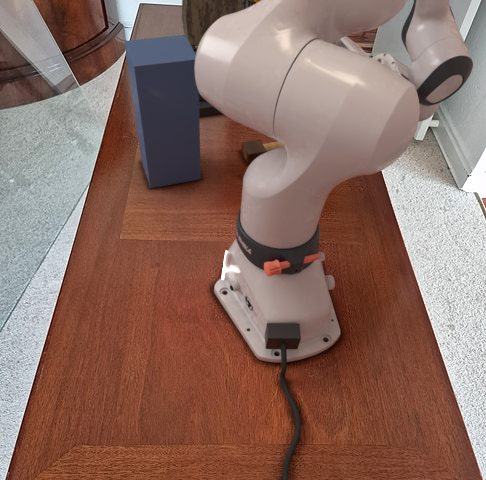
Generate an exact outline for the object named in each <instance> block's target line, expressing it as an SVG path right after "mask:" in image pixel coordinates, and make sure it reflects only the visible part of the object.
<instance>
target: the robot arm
mask: <svg viewBox="0 0 486 480" xmlns="http://www.w3.org/2000/svg"><path fill="white" fill-rule="evenodd" d="M407 3H408V0H261V1H259V2H258V3H256V4H254V5H252V6H250V7H248V8H246V9H244V10H241V11H238V12H236V13H232V14H228V15H225V16H222V17H221V18H219V19H218V20H217V21H215V22H214V23H213V24H212V25H211V26H210V27H209V28H208V30H207V31H206V32H205V34H204V35H203V37H202V39H201V41H200V43H199V46H197V49H196V52H195V54H196V57H195V65H194V72H195V80H196V85H197V88H198V91H199V93H200V95H201V96H202V97H203V98H204V99H205V100H206V101H207V102H208V103H210V104H211V105H212V106H213V107H215V108H216V109H217V110H219V111H220V112H221V113H223V114H222V115H224V116H225V117H227V118H228V119H230V120H231V121H233V122H235V123H237V124H239V125H242V126H243V127H247V128H248V129H251V130H253V131H255V132H257V133H260V134H262V135H264V136H266V137H269V138H271V139H272V140H275V141H276V142H279V143H281V144H282V145H284V147H283V148H278V149H274V150H271V151H268V152H266V153H263V154H261V155H260V156H258V157H257V158H256V159H254V160H253V161H252V163H249V164H248V166H247V168H246V170H245V172H244V174H243V178H242V189H241V201H240V208H239V209H238V212H237V215H236V216H237V217H236V219H235V220H236V221H235V239H234V240H233V242H232V243H231V245H230V247H229V248H228V250H225V252H224V258H223V264H222V265H223V267H222V272H221V277H220V278H219V279H218V280H217V281H216V282H215V284H214V286H213V293H214V295H215V296H216V298H217V300H218V301H219V302H220V304H221V305H222V307H223V309H224V310H225V311H226V313H227V315H228V316H229V318H230V320H231V321H232V322H233V324H234V326H235V327H236V329H237V330H238V331H239V333H240V334H241V336H242V338H243V339H244V341H245V342H246V344H247V346H248V347H249V348H250V350H251V352H252V353H253V355H254V357H256V358H257V359H258V360H260V361H262V362H267V363H273V364H274V363H280V364H281V365H280V366H281V368H280V372H279V381H280V384H281V388H282V391H283V392H284V395H285V397H286V399H287V401H288V404H289V406H290V408H291V410H292V414H293V417H294V425H295V430H294V434H293V437H292V440H291V442H290V445H289V447H288V449H287V452H286V453H285V455H284V456H285V457H284V459H283V464H282V470H281V478H282V479H281V480H289V467H290V462H291V459H292V457H293V454H294V452H295V450H296V448H297V446H298V443H299V440H300V436H301V432H302V431H301V430H302V421H301V420H302V419H301V416H300V411H299V409H298V407H297V404H296V401H295V400H294V398H293V396H292V393H291V392H290V389H289V387H288V383H287V379H286V373H287V371H288V369H287V368H288V363H289V362H297V361H300V360H305V359H307V358H310V357H313V356H316V355H318V354H320V353H322V352H325V351H326V350H328V349H330V348H331V347H333V345H334V344H335V343H336V342H337V341H338V340H339V339H340V337H341V328H340V325H339V321H338V318H337V314H336V311H335V308H334V304H333V301H332V298H331V295H330V291H331V290H334V289H335V286H336V281H335V277H334V275H332V274H327V275H325V270H324V266H323V261H325V259H326V257H325V256H326V255H325V252H324V251H320V239H321V230H320V218H321V216H322V212H323V210H324V206H325V204H326V201H327V199H328V197H329V196H330V193H332V191H333V190H334V189H335V188H336V187H337V186H339V185H340V184H341V183H344V182H345V181H347V180H350V179H352V178H356V177H361V176H371V175H374V174H377V173H379V172H381V171H383V170H385V169H387V168H389V167H391V166H392V164H394V163H395V162H397V160H399V159H400V158H401V157H402V156H403V154H404V153H405V152H406V151H407V149H408V148H409V146H410V145H411V143H412V141H413V139H414V137H415V135H416V132H417V129H418V125H419V123H420V122H423V121H426V120H428V119H430V118H431V117H432V116H433V115H435V113H437V111H438V109H440V108H439V107H440V106H441V103H442V102H444V101H446V100H448V99H449V98H451V97H452V96H453V95H454V94H456V93H457V92H458V91H459V90H461V89H462V87H463V86H464V85H465V84H466V83H467V81H468V80H469V78H470V76H471V74H472V71H473V69H474V61H473V59H472V57H471V54H470V51H469V50H468V47H467V44H466V43H465V41H464V38H463V36H462V33H461V31H460V28H459V27H458V24H457V22H456V19H455V15H454V13H453V10H452V7H451V4H450V0H413V2H412V7H411V9H410V12H409V14H408V15H407V17H406V19H405V22H404V24H403V26H402V29H401V33H400V34H401V35H400V36H401V37H400V38H401V41H402V43H403V46H404V47H405V50H406V52H407V53H408V56H409V58H410V61H411V63H410V64H407V65H406V64H404V63H403V62H401V61H400V60H398V59H397V58H396V57H394V56H392V55H391V54H389V53H386V52H385V53H379V54H377V55H375V56H373V57H370V55H369V54H368V53H367V52H366V51H365V50H364V49H363V48H362V47H361V46H360V45H359V44H357V43H356V42H355V41H353V40H352V39H351V38H350V37H348V36H351V35H353V34H357V33H362V32H368V31H372V30H375V29H378V28H381V27H382V26H385V25H387V24H388V23H389V22H391V21H392V20H393V19H394V18H395V17H397V15H398V14H400V12H401V11H402V10H403V9H404V8H405V6H406V4H407ZM275 354H277V355H275Z"/></svg>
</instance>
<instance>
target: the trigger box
mask: <svg viewBox="0 0 486 480" xmlns="http://www.w3.org/2000/svg"><path fill="white" fill-rule="evenodd" d="M217 115H224V114H223V113H221V112H220V111H219V110H217V109H216V108H215V107H213V106H212V105H211V104H210V103H208V102H207V101H206V100H205V99H204V98H203V97H202V96H201V95H200V93H199V118H204V117H210V116H217Z"/></svg>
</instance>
